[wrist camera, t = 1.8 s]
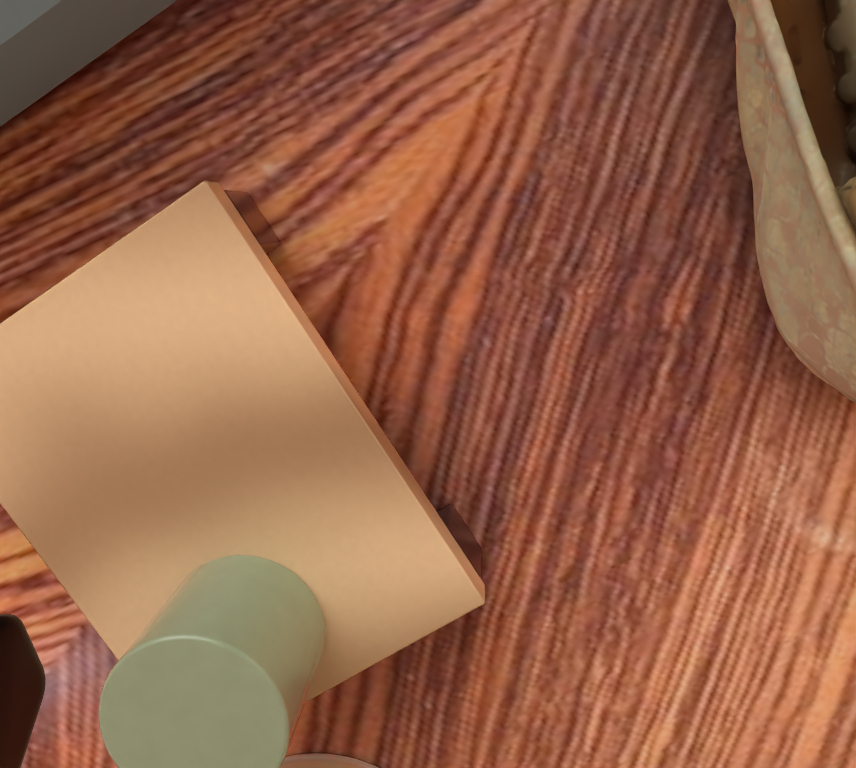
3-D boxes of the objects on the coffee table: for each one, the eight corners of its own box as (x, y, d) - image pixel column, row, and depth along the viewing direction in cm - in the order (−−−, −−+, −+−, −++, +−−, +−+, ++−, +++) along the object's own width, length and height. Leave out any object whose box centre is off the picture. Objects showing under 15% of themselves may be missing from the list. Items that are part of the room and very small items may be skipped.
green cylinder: (357, 653, 20) (326, 757, 16) (229, 724, 21) (171, 841, 17) (267, 524, 20) (214, 601, 16) (139, 601, 20) (58, 693, 17)
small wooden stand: (485, 553, 23) (485, 603, 20) (229, 697, 24) (195, 763, 21) (243, 184, 21) (204, 179, 18) (-16, 363, 23) (-90, 386, 20)
